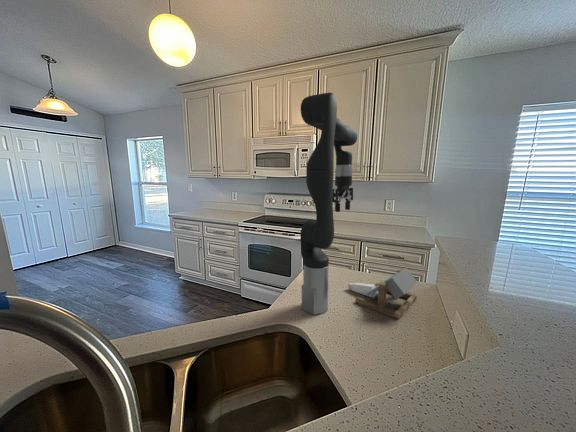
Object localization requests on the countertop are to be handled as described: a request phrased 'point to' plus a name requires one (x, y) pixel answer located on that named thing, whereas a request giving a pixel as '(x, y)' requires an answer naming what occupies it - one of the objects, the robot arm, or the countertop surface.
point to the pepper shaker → (362, 288)
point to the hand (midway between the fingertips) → (342, 210)
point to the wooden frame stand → (382, 301)
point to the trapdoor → (398, 283)
